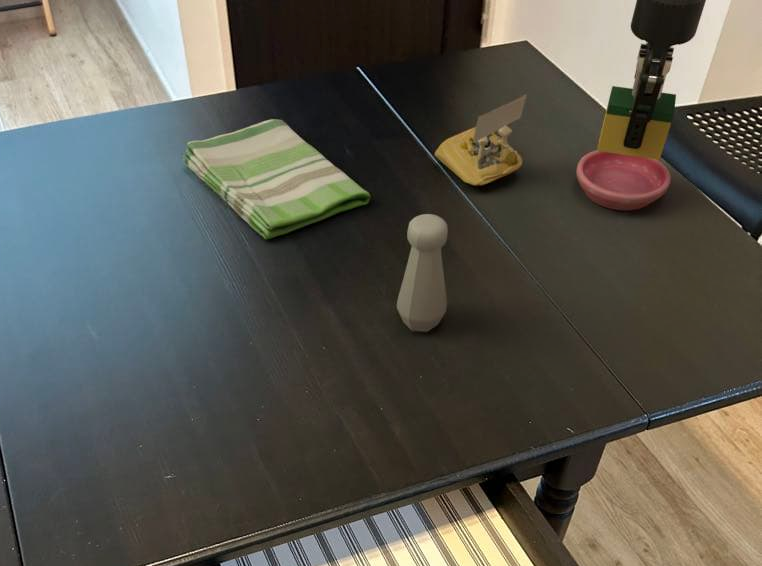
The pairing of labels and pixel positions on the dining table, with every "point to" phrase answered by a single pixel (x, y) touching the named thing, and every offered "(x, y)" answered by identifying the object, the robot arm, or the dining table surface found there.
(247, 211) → the dish towel
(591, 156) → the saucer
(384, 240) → the dining table surface
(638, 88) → the robot arm
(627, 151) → the sponge
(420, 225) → the salt shaker
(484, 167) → the yellow base with figure
